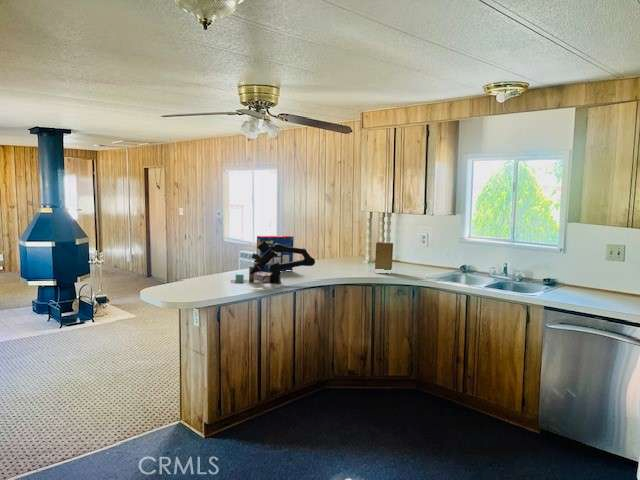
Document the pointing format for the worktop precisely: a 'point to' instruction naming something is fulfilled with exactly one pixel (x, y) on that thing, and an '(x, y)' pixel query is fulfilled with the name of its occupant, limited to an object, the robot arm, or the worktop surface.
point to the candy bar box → (262, 276)
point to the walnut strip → (251, 278)
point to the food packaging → (384, 255)
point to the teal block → (239, 277)
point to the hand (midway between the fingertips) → (250, 273)
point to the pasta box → (281, 256)
